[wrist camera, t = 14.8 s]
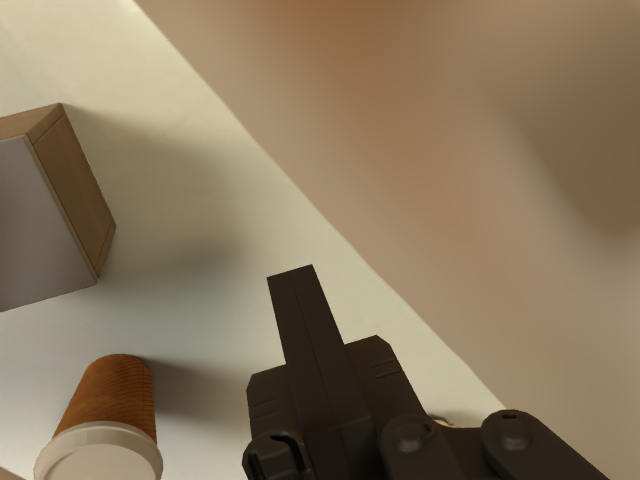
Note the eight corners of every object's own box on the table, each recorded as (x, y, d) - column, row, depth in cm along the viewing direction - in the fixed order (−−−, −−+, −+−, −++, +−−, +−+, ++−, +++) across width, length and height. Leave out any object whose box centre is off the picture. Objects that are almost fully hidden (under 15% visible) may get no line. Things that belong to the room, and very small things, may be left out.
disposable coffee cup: (184, 356, 51) (181, 454, 41) (147, 426, 54) (135, 534, 43) (84, 327, 48) (53, 426, 37) (50, 404, 50) (11, 516, 40)
